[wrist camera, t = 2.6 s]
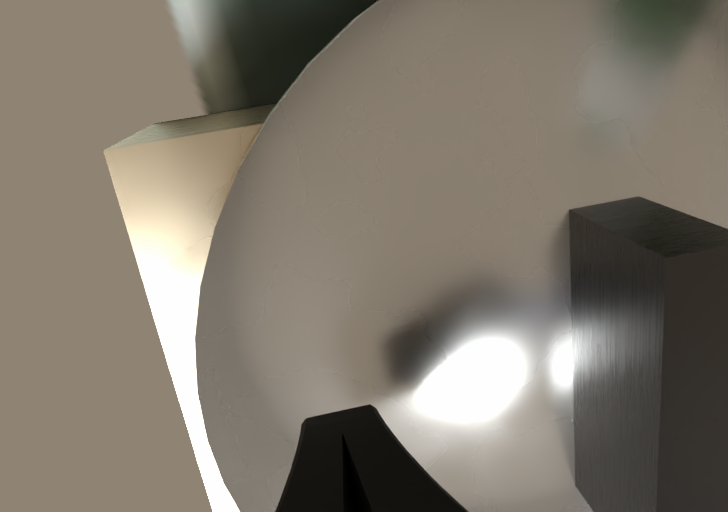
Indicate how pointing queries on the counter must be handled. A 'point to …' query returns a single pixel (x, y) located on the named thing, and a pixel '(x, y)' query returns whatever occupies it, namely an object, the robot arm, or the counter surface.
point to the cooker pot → (181, 237)
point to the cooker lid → (487, 256)
